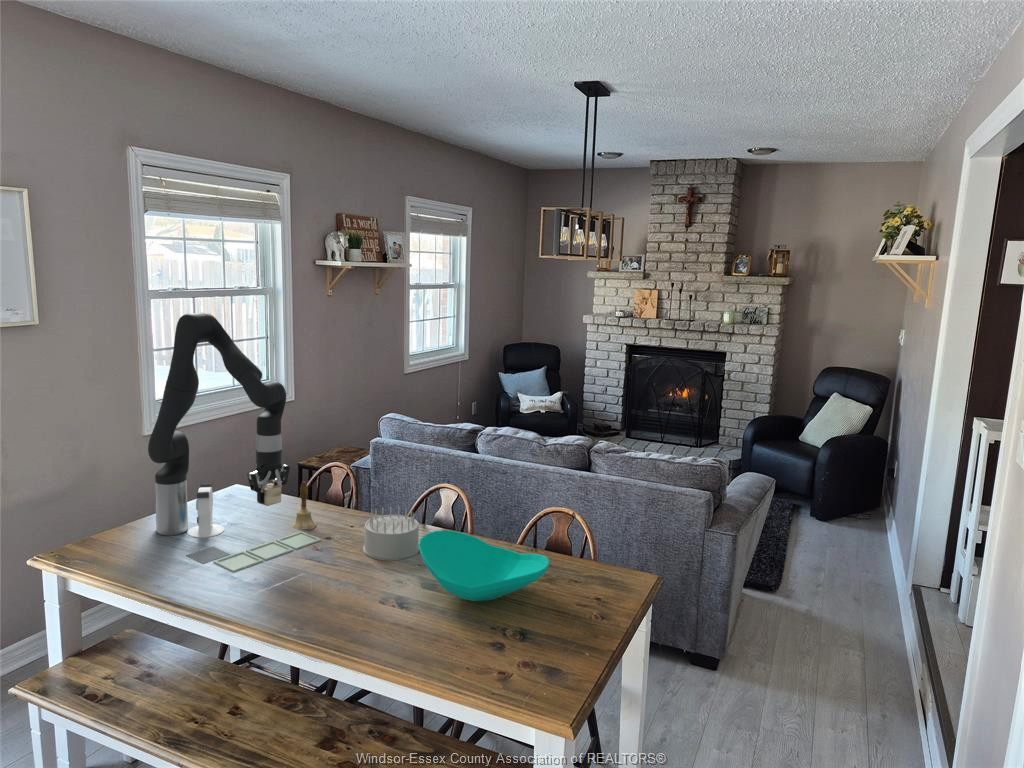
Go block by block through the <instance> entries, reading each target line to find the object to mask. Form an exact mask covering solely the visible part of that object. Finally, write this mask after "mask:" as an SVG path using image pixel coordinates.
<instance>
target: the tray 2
mask: <svg viewBox="0 0 1024 768" xmlns="http://www.w3.org/2000/svg"><path fill="white" fill-rule="evenodd" d="M293 551H294V549H293V548H291V547H288V546H286V545H283V544H281V543H279V542H276V540H272V541H268V542H266V543H263V544H260V545H257V546H253V547H251V548H248V549H245V552H247V553H249V554H251V555H253V556H256V557H258V558H260V559H262V560H263V561H268V560H272V559H274V558H277V557H279V556H284V555H286V554H288V553H291V552H293Z"/></svg>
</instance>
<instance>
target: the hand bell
mask: <svg viewBox="0 0 1024 768" xmlns="http://www.w3.org/2000/svg"><path fill="white" fill-rule="evenodd" d="M308 494H309V488H308V485H307V481H305V480H303V481H302V482H301V484H300V488H299V495H300V498H301V499H300V500H301V503H300V510H297V512H296V517H295V520H294V522H293V523H292V524H291V527H292V528H293V529H295V530H313V529H315V528H317V523H316V522H315V521H314V520H313V518H312V512H311V510H310V509H307V497H308Z"/></svg>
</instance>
